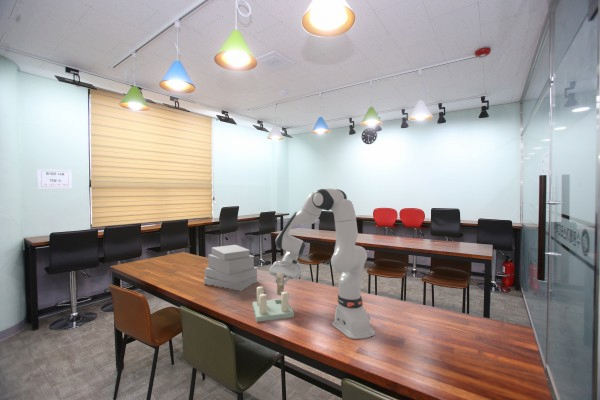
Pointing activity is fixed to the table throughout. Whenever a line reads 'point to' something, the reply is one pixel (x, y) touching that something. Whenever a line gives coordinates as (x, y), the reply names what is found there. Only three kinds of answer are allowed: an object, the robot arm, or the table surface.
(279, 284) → the loose leg
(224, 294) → the table surface
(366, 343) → the table surface
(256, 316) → the stool seat
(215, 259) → the book stack
